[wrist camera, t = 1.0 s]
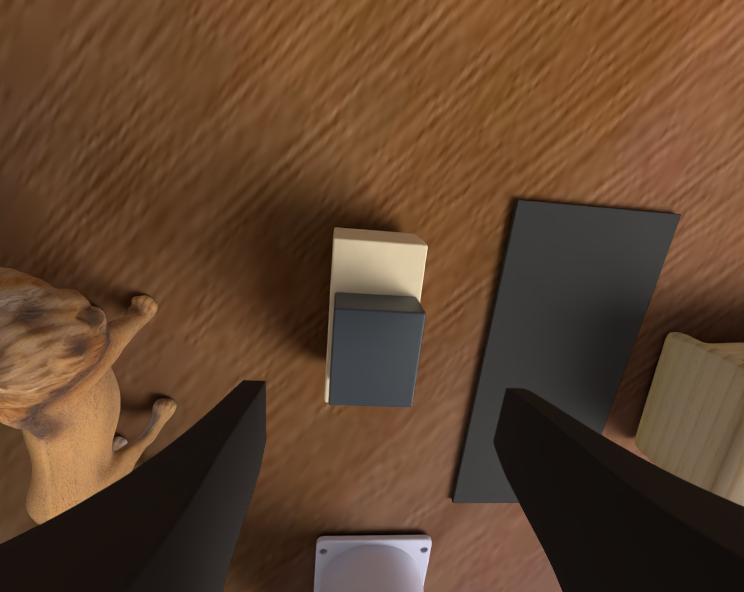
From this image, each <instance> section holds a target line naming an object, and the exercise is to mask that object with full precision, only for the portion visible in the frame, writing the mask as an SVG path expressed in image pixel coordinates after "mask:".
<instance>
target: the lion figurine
mask: <svg viewBox="0 0 744 592" xmlns="http://www.w3.org/2000/svg"><path fill="white" fill-rule="evenodd" d="M156 311H157V303H156V302H155V301H154V300H153V299H152V298H151V297H149V296H146V295H141V296H136V297H133V298H132V300H131V306H130V307H129V308H128V309H127V311H126V313H125V315H124V317H121V318H118V319H116V320H113V321H112V322H110V323H109V324H108V322H107V318H106V316H105V314H104V312H103V311H102V310H101V309H100V308H99V307H95V306H91V305H90V302H88V300H87V299H86V298H85V297H84V296H83V295H81V294H79V292H78V291H77V290H75V289H57V288H54V287H53V286H52V285H50V284H49V283H47V282H45V281H43V280H41V279H39V278H36V277H33V276H31V275H29V274H28V273H24V272H18V270H16V269H13V268H2V267H0V423H2V424H4V425H7V426H10V427H13V428H17V429H20V430H22V433H23V437H24V441H25V444H26V446H27V449H28V451H29V454H30V459H31V465H32V478H31V483H30V486H29V489H28V493H27V497H26V509H27V512H28V514H29V516H30V517H31V518H32V519H33V520H34V521H35V522H37V523H38V524H42V523H44V522H46V521H48V520H50V519H51V518H53V517H55V516H57V515H59V514H61V513H63V512H65V511H66V510H68V509H70V508H72V507H74V506H76V505H77V504H79V503H81V502H82V501H84V500H86V499H87V498H89V497H91V496H92V495H94V494H96V493H97V492H99V491H101V490H103V489H104V488H106V487H108V486H109V485H111V484H113V483H114V482H116V481H118V480H119V479H121V478H123V477H124V476H126V475H127V474H129V473H130V472H132V470H133V468H134V466H135V463H136V461H137V460H138V459H139V457H140V456H141V454H142V452H143V451H144V449H145V448H146V447H147V446H149V445H150V444H151V443H152V442H153V441H154V440H155V438H156V436H157V435H158V433H159V431H160V430H161V428H162V427H163V425H164V424H165V423H166V422H167V421H168V420H169V419H170V418H171V416H172V415H173V414H174V412H175V410H176V403H175V402H174V401H173V400H172V399H164V398H161V399H158V400H157V401H156V402H155V403H154V405H153V412H152V417H151V420H150V422H149V424H148V425H147V427H146V428H145V429H144V430H143V431H142V433H141V434H140V435H139V436H138V437H137V438H136V439H134V440H132V441H130V442H127V440H126V439H124V438H122V437H119V436H116V437H114V434H115V430H116V426H117V423H118V418H119V414H120V391H119V386H118V382H117V380H116V377H115V374H114V372H113V370H112V367H111V365H112V364H113V363H114V362H115V361H116V360H117V358H118V357H119V355H120V354H121V352H122V351H123V349H124V348H125V346H126V345H127V344H128V343H129V341H130V340H131V339H132V338H133V336H134V335H135V334H136V333H137V332H138V331H139V330H140V329H141V328H142V327H143V326H144V325H145V324H146V323H147V322H148V321H149V320H150V319H151V318H152V317H153V316H154V314H155V313H156ZM113 437H114V438H113Z"/></svg>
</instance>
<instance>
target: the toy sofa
mask: <svg viewBox="0 0 744 592" xmlns="http://www.w3.org/2000/svg"><path fill="white" fill-rule="evenodd" d="M635 444H636V446H637V448H638V449H639V450H640V451H641V452H643V453H644V454H645V455H646V456H647V457H648V458H649V459H650V460H651V461H652V462H654V463H655V464H656V465H657V466H658V467H659V468H661V469H663V470H665V471H667V472H669V473H671V474H673V475H675V476H677V477H679V478H681V479H683V480H685V481H688V482H690V483H692V484H694V485H696V486H698V487H700V488H703V489H705V490H707V491H709V492H712V493H714V494H716V495H718V496H721V497H723V498H725V499H728V500H730V501H732V502H734V503H737V504H739V505H741V506H744V343H713V344H710V343H704V342H701V341H699V340H697V339H694V338H692V337H690V336H688V335H686V334H683V333H678V332H671V333H669V334H668V335H667V337H666V339H665V342H664V346H663V349H662V352H661V355H660V358H659V361H658V364H657V368H656V371H655V374H654V378H653V381H652V384H651V387H650V391H649V394H648V397H647V400H646V404H645V407H644V410H643V414H642V417H641V420H640V424H639V427H638V431H637V434H636V437H635Z"/></svg>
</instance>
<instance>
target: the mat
mask: <svg viewBox="0 0 744 592" xmlns="http://www.w3.org/2000/svg"><path fill="white" fill-rule="evenodd" d="M680 217H681V215H680V214H672V213H661V212H650V211H639V210H628V209H616V208H605V207H594V206H583V205H572V204H561V203H550V202H539V201H528V200H517V199H516V201H515V206H514V210H513V215H512V220H511V224H510V229H509V234H508V239H507V243H506V248H505V253H504V257H503V262H502V267H501V271H500V276H499V281H498V285H497V290H496V295H495V299H494V304H493V309H492V313H491V318H490V323H489V327H488V332H487V337H486V341H485V346H484V351H483V355H482V360H481V365H480V370H479V374H478V379H477V384H476V388H475V393H474V398H473V402H472V407H471V412H470V416H469V421H468V426H467V430H466V435H465V440H464V444H463V449H462V454H461V458H460V463H459V468H458V472H457V477H456V482H455V486H454V491H453V496H452V502H453V503H519V501H518V499H517V498H516V496H515V494H514V492H513V490H512V488H511V486H510V484H509V482H508V480H507V478H506V476H505V474H504V471H503V469H502V466H501V463H500V461H499V458H498V455H497V452H496V449H495V447H494V444H493V440H494V436H495V432H496V428H497V424H498V419H499V415H500V411H501V407H502V403H503V399H504V395H505V390H506V388H525V389H527V390H529V391H531V392H533V393H535V394H536V395H538V396H540V397H541V398H543V399H545V400H546V401H548V402H550V403H551V404H553V405H554V406H556V407H558V408H559V409H561V410H562V411H564V412H565V413H567V414H569V415H570V416H572V417H573V418H575V419H576V420H578V421H580V422H581V423H583V424H584V425H586V426H588V427H589V428H591V429H592V430H594V431H596V432H597V433H599V434H602V431H603V429H604V426H605V423H606V420H607V418H608V415H609V412H610V409H611V407H612V404H613V401H614V398H615V396H616V393H617V390H618V387H619V385H620V382H621V379H622V376H623V374H624V371H625V368H626V365H627V363H628V360H629V357H630V354H631V352H632V349H633V346H634V343H635V341H636V338H637V335H638V332H639V330H640V327H641V324H642V321H643V319H644V316H645V313H646V310H647V308H648V305H649V302H650V299H651V297H652V294H653V291H654V288H655V286H656V283H657V280H658V277H659V275H660V272H661V269H662V266H663V264H664V261H665V258H666V255H667V253H668V250H669V247H670V244H671V242H672V239H673V236H674V233H675V231H676V228H677V225H678V222H679V220H680Z"/></svg>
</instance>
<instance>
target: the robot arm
mask: <svg viewBox="0 0 744 592" xmlns="http://www.w3.org/2000/svg"><path fill="white" fill-rule="evenodd" d="M265 443H266V385H265V381H250V380H243V381H242V382H241V383H240V384H239V385H238V386H237V387H235V388H234V389H233V390H232V391H231V392H230V393H229V394H228V395H227V396H226V397H225V398H224V399H223V400H222V401H220V402H219V403H218V404H217V405H216V406H215V407H214V408H213V409H212V410H211V411H209V412H208V413H207V414H206V415H205V416H204V417H203V418H202V419H200V420H199V421H198V422H197V423H196V424H195V425H194V426H192V427H191V428H190V429H189V430H187V431H186V432H185V433H184V434H182V435H181V436H180V437H179V438H177V439H176V440H175V441H174V442H172V443H171V444H170V445H169V446H167V447H166V448H165V449H163V450H162V451H161V452H159V453H158V454H157V455H155V456H154V457H152V458H151V459H150V460H148V461H147V462H145V463H144V464H142V465H141V466H139V467H138V468H136V469H135V470H133V471H132V472H130V473H129V474H127V475H126V476H124V477H123V478H121V479H119V480H118V481H116V482H114V483H113V484H111V485H109V486H108V487H106V488H104V489H103V490H101V491H99V492H97V493H96V494H94V495H92V496H91V497H89V498H87V499H86V500H84V501H82V502H81V503H79V504H77V505H76V506H74V507H72V508H70V509H68V510H66V511H65V512H63V513H61V514H59V515H57V516H55V517H53V518H51V519H50V520H48V521H46V522H44V523H42V524H40V525H38V526H36V527H34V528H32V529H30V530H28V531H26V532H24V533H22V534H20V535H18V536H16V537H14V538H12V539H10V540H8V541H6V542H4V543H2V544H0V592H223V588H224V584H225V580H226V576H227V573H228V569H229V566H230V562H231V559H232V555H233V552H234V549H235V546H236V543H237V540H238V537H239V534H240V531H241V528H242V525H243V522H244V519H245V516H246V513H247V510H248V507H249V504H250V501H251V497H252V494H253V491H254V488H255V485H256V482H257V479H258V476H259V472H260V467H261V463H262V458H263V453H264V448H265ZM493 444H494V447H495V449H496V452H497V455H498V458H499V461H500V463H501V466H502V469H503V471H504V474H505V476H506V478H507V480H508V482H509V484H510V486H511V488H512V490H513V492H514V494H515V496H516V498H517V499H518V501H519V503H520V505H521V507H522V509H523V511H524V513H525V515H526V517H527V519H528V520H529V522H530V524H531V526H532V528H533V530H534V532H535V534H536V536H537V538H538V539H539V541H540V543H541V545H542V547H543V549H544V551H545V553H546V555H547V557H548V559H549V561H550V563H551V565H552V568H553V570H554V572H555V575H556V577H557V579H558V582H559V584H560V587H561V589H562V591H563V592H744V506H741V505H739V504H737V503H734V502H732V501H730V500H728V499H725V498H723V497H721V496H718V495H716V494H714V493H712V492H709V491H707V490H705V489H703V488H700V487H698V486H696V485H694V484H692V483H690V482H688V481H685V480H683V479H681V478H679V477H677V476H675V475H673V474H671V473H669V472H667V471H665V470H663V469H661V468H659V467H657V466H656V465H654V464H652V463H650V462H648V461H646V460H644V459H642V458H640V457H638V456H637V455H635V454H633V453H631V452H630V451H628V450H626V449H624V448H623V447H621V446H619V445H617V444H616V443H614V442H612V441H611V440H609V439H607V438H606V437H604V436H602V435H601V434H599V433H597V432H596V431H594V430H592V429H591V428H589V427H588V426H586V425H584V424H583V423H581V422H580V421H578V420H576V419H575V418H573V417H572V416H570V415H569V414H567V413H565V412H564V411H562V410H561V409H559V408H558V407H556V406H554V405H553V404H551V403H550V402H548V401H546V400H545V399H543V398H541V397H540V396H538V395H536V394H535V393H533V392H531V391H529V390H527V389H525V388H506V390H505V395H504V399H503V403H502V407H501V411H500V415H499V419H498V424H497V428H496V432H495V436H494V440H493ZM431 545H432V542H431V538H430V536H428V535H361V536H321V537H319V538H318V539H317V542H316V560H315V578H314V592H424V590H423V585H424V580H425V575H426V570H427V565H428V560H429V555H430V550H431Z"/></svg>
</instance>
